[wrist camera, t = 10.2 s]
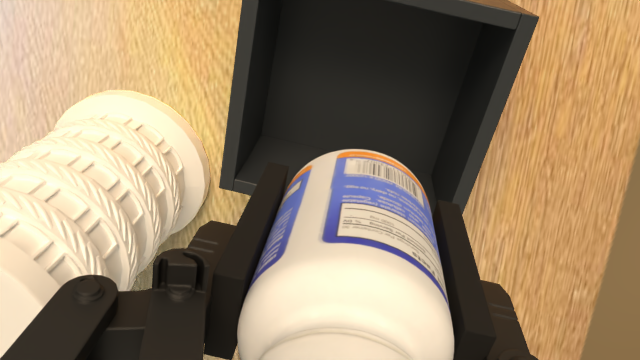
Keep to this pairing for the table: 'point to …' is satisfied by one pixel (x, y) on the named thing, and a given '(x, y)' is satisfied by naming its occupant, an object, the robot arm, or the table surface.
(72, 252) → the decorative container
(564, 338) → the table surface
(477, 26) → the bin
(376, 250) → the pill bottle
